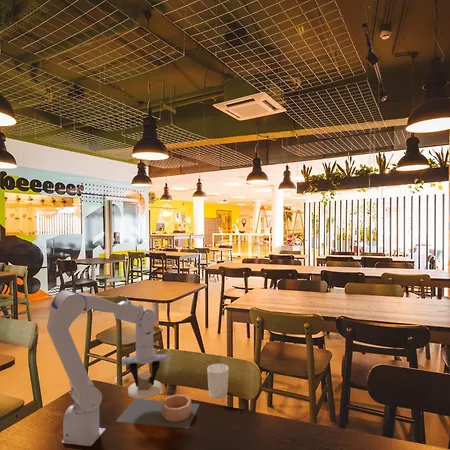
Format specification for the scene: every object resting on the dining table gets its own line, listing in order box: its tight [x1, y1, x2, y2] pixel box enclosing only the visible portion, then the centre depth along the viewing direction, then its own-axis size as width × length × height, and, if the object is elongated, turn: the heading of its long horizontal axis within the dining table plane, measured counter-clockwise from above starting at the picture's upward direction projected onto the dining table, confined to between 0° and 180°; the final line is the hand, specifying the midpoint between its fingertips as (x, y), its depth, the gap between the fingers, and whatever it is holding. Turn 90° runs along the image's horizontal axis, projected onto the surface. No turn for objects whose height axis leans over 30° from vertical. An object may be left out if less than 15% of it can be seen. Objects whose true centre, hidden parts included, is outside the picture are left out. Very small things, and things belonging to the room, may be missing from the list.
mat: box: [115, 398, 201, 430], centre depth 110 cm, size 24×14×1 cm, turn 80°
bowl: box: [162, 394, 192, 422], centre depth 109 cm, size 9×9×4 cm
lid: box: [127, 373, 163, 400], centre depth 110 cm, size 11×11×4 cm
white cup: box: [206, 363, 230, 399], centre depth 121 cm, size 8×8×10 cm
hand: (145, 384), depth 110 cm, fingers closed on lid, 4 cm apart
